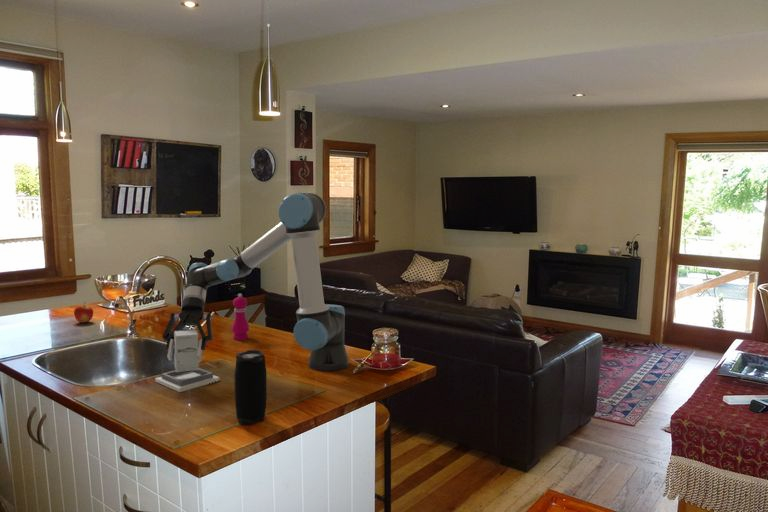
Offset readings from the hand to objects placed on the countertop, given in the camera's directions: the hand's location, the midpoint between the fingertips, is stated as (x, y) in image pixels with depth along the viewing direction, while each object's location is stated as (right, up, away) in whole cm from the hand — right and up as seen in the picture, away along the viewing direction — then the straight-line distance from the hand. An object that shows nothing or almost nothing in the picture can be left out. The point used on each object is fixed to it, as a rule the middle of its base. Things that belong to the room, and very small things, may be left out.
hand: (184, 358), depth 188 cm
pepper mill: (+4, -2, +60) cm, 60 cm away
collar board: (0, -9, +4) cm, 10 cm away
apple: (-77, +2, +82) cm, 112 cm away
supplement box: (0, -4, +4) cm, 6 cm away
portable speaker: (+29, -13, -27) cm, 41 cm away
